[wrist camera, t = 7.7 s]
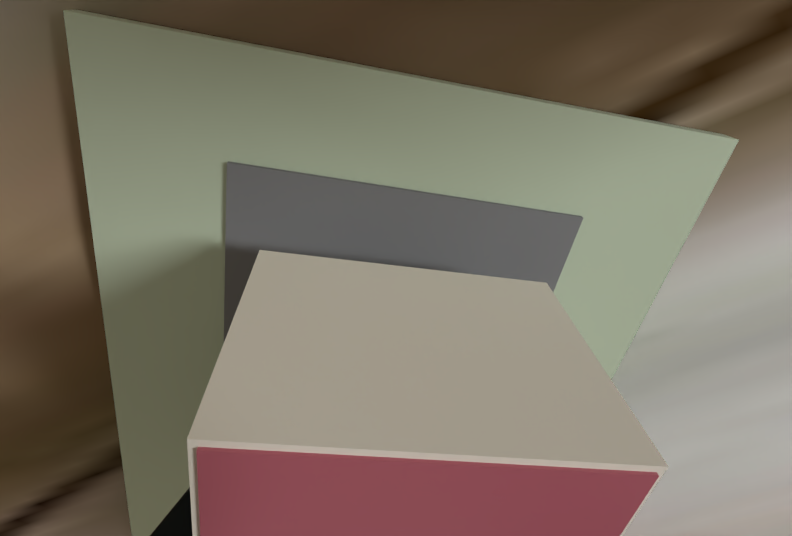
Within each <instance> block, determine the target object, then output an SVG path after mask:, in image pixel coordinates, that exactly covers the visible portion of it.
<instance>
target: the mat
mask: <svg viewBox="0 0 792 536" xmlns="http://www.w3.org/2000/svg"><path fill="white" fill-rule="evenodd" d="M63 13H64V21H65V29H66V36H67V44H68V52H69V59H70V67H71V75H72V82H73V90H74V98H75V105H76V113H77V121H78V128H79V136H80V144H81V151H82V159H83V167H84V174H85V182H86V190H87V197H88V205H89V212H90V220H91V228H92V235H93V243H94V251H95V258H96V266H97V274H98V281H99V289H100V297H101V304H102V312H103V320H104V327H105V335H106V343H107V350H108V358H109V366H110V373H111V381H112V389H113V396H114V404H115V412H116V419H117V427H118V435H119V442H120V450H121V458H122V465H123V473H124V481H125V488H126V496H127V504H128V511H129V519H130V527H131V534H132V536H150V535H151V534H152V532H153V531H154V530H155V529H156V527H157V526H158V525H159V524H160V523H161V521H162V520H163V519H164V518H165V516H166V515H167V514H168V513H169V512H170V510H171V509H172V508H173V507H174V505H175V504H176V503H177V502H178V501H179V499H180V498H181V497H182V496H183V494H184V493H185V492H186V491H187V490H188V488H189V487H190V484H189V467H188V450H187V437H188V435H189V432H190V430H191V427H192V424H193V422H194V419H195V417H196V414H197V411H198V409H199V406H200V404H201V401H202V398H203V396H204V393H205V391H206V388H207V385H208V383H209V380H210V378H211V375H212V372H213V370H214V367H215V365H216V362H217V359H218V357H219V354H220V352H221V349H222V346H223V344H224V341H225V339H226V336H227V333H228V331H229V328H230V326H231V323H232V320H233V318H234V315H235V313H236V310H237V307H238V305H239V302H240V300H241V297H242V294H243V292H244V289H245V287H246V284H247V281H248V279H249V276H250V274H251V271H252V268H253V266H254V263H255V260H256V258H257V255H258V253H259V250H266V251H274V252H283V253H292V254H300V255H309V256H318V257H327V258H335V259H344V260H353V261H361V262H370V263H379V264H388V265H396V266H405V267H414V268H423V269H431V270H440V271H449V272H457V273H466V274H475V275H484V276H492V277H501V278H510V279H519V280H527V281H536V282H545V283H547V284H548V286H549V287H550V289H551V290H552V292H553V293H554V295H555V296H556V298H557V299H558V301H559V302H560V304H561V305H562V307H563V308H564V310H565V311H566V313H567V314H568V316H569V317H570V319H571V320H572V322H573V323H574V325H575V326H576V328H577V329H578V331H579V332H580V334H581V335H582V337H583V338H584V340H585V341H586V343H587V344H588V346H589V347H590V349H591V350H592V352H593V353H594V355H595V357H596V358H597V360H598V361H599V363H600V364H601V366H602V367H603V369H604V370H605V372H606V373H607V375H608V376H609V378H610V379H611V380H612V378H613V376H614V374H615V372H616V370H617V369H618V367H619V365H620V363H621V361H622V359H623V357H624V355H625V353H626V352H627V350H628V348H629V346H630V344H631V342H632V340H633V338H634V337H635V335H636V333H637V331H638V329H639V327H640V325H641V323H642V321H643V320H644V318H645V316H646V314H647V312H648V310H649V308H650V306H651V305H652V303H653V301H654V299H655V297H656V295H657V293H658V291H659V289H660V288H661V286H662V284H663V282H664V280H665V278H666V276H667V274H668V273H669V271H670V269H671V267H672V265H673V263H674V261H675V259H676V257H677V256H678V254H679V252H680V250H681V248H682V246H683V244H684V242H685V241H686V239H687V237H688V235H689V233H690V231H691V229H692V227H693V226H694V224H695V222H696V220H697V218H698V216H699V214H700V212H701V210H702V209H703V207H704V205H705V203H706V201H707V199H708V197H709V195H710V194H711V192H712V190H713V188H714V186H715V184H716V182H717V180H718V178H719V177H720V175H721V173H722V171H723V169H724V167H725V165H726V163H727V162H728V160H729V158H730V156H731V154H732V152H733V150H734V148H735V146H736V145H737V143H738V141H739V140H738V139H735V138H733V137H730V136H727V135H724V134H719V133H714V132H708V131H703V130H698V129H693V128H688V127H682V126H677V125H672V124H667V123H662V122H657V121H651V120H646V119H641V118H636V117H631V116H625V115H620V114H615V113H610V112H605V111H599V110H594V109H589V108H584V107H579V106H574V105H568V104H563V103H558V102H553V101H548V100H542V99H537V98H532V97H527V96H522V95H517V94H511V93H506V92H501V91H496V90H491V89H485V88H480V87H475V86H470V85H465V84H460V83H454V82H449V81H444V80H439V79H434V78H428V77H423V76H418V75H413V74H408V73H403V72H397V71H392V70H387V69H382V68H377V67H371V66H366V65H361V64H356V63H351V62H345V61H340V60H335V59H330V58H325V57H320V56H314V55H309V54H304V53H299V52H294V51H288V50H283V49H278V48H273V47H268V46H263V45H257V44H252V43H247V42H242V41H237V40H231V39H226V38H221V37H216V36H211V35H206V34H200V33H195V32H190V31H185V30H180V29H174V28H169V27H164V26H159V25H154V24H148V23H143V22H138V21H133V20H128V19H123V18H117V17H112V16H107V15H102V14H97V13H91V12H86V11H81V10H63Z"/></svg>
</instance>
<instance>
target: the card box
mask: <svg viewBox="0 0 792 536" xmlns="http://www.w3.org/2000/svg"><path fill="white" fill-rule="evenodd" d="M187 450H188V467H189V484H190V501H191V518H192V534H193V536H623V535H624V533H625V532H626V530H627V529H628V527H629V526H630V524H631V523H632V521H633V520H634V518H635V517H636V515H637V514H638V512H639V511H640V509H641V508H642V506H643V505H644V503H645V502H646V500H647V499H648V497H649V496H650V494H651V493H652V491H653V490H654V488H655V487H656V485H657V484H658V482H659V481H660V479H661V478H662V476H663V475H664V473H665V472H666V470H667V469H668V465H667V464H666V462H665V461H664V459H663V458H662V456H661V455H660V453H659V452H658V450H657V449H656V447H655V446H654V444H653V443H652V441H651V440H650V438H649V436H648V435H647V433H646V432H645V430H644V429H643V427H642V426H641V424H640V423H639V421H638V420H637V418H636V417H635V415H634V414H633V412H632V411H631V409H630V408H629V406H628V405H627V403H626V402H625V400H624V399H623V397H622V396H621V394H620V393H619V391H618V390H617V388H616V387H615V385H614V384H613V382H612V381H611V379H610V378H609V376H608V375H607V373H606V372H605V370H604V369H603V367H602V366H601V364H600V363H599V361H598V360H597V358H596V357H595V355H594V353H593V352H592V350H591V349H590V347H589V346H588V344H587V343H586V341H585V340H584V338H583V337H582V335H581V334H580V332H579V331H578V329H577V328H576V326H575V325H574V323H573V322H572V320H571V319H570V317H569V316H568V314H567V313H566V311H565V310H564V308H563V307H562V305H561V304H560V302H559V301H558V299H557V298H556V296H555V295H554V293H553V292H552V290H551V289H550V287H549V286H548V284H547V283H545V282H536V281H527V280H519V279H510V278H501V277H492V276H484V275H475V274H466V273H457V272H449V271H440V270H431V269H423V268H414V267H405V266H396V265H388V264H379V263H370V262H361V261H353V260H344V259H335V258H327V257H318V256H309V255H300V254H292V253H283V252H274V251H266V250H259V253H258V255H257V258H256V260H255V263H254V266H253V268H252V271H251V274H250V276H249V279H248V281H247V284H246V287H245V289H244V292H243V294H242V297H241V300H240V302H239V305H238V307H237V310H236V313H235V315H234V318H233V320H232V323H231V326H230V328H229V331H228V333H227V336H226V339H225V341H224V344H223V346H222V349H221V352H220V354H219V357H218V359H217V362H216V365H215V367H214V370H213V372H212V375H211V378H210V380H209V383H208V385H207V388H206V391H205V393H204V396H203V398H202V401H201V404H200V406H199V409H198V411H197V414H196V417H195V419H194V422H193V424H192V427H191V430H190V432H189V435H188V437H187Z"/></svg>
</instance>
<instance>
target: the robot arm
mask: <svg viewBox="0 0 792 536" xmlns="http://www.w3.org/2000/svg"><path fill="white" fill-rule="evenodd" d="M150 536H193V534H192V518H191V501H190V487H189V488H188V490H187V491H186V492H185V493H184V494H183V496H182V497H181V498H180V499H179V501H178V502H177V503H176V504H175V505H174V507H173V508H172V509H171V510H170V512H169V513H168V514H167V515H166V516H165V518H164V519H163V520H162V521H161V523H160V524H159V525H158V526H157V527H156V529H155V530H154V531H153V532H152V534H151V535H150Z"/></svg>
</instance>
